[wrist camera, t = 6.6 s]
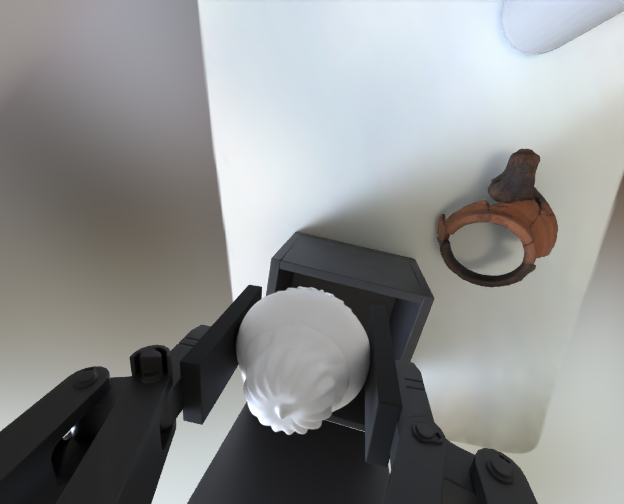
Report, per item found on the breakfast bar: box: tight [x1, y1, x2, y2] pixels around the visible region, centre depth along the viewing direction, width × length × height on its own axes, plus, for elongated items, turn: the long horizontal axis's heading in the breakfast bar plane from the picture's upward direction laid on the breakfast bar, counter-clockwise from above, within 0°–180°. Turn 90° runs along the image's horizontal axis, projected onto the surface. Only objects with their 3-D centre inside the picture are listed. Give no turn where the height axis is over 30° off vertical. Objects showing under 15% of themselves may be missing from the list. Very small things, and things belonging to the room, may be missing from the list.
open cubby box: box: [266, 232, 434, 431], centre depth 30 cm, size 16×14×9 cm
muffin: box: [236, 286, 371, 435], centre depth 13 cm, size 6×6×7 cm
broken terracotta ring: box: [437, 149, 558, 287], centre depth 26 cm, size 12×10×8 cm
